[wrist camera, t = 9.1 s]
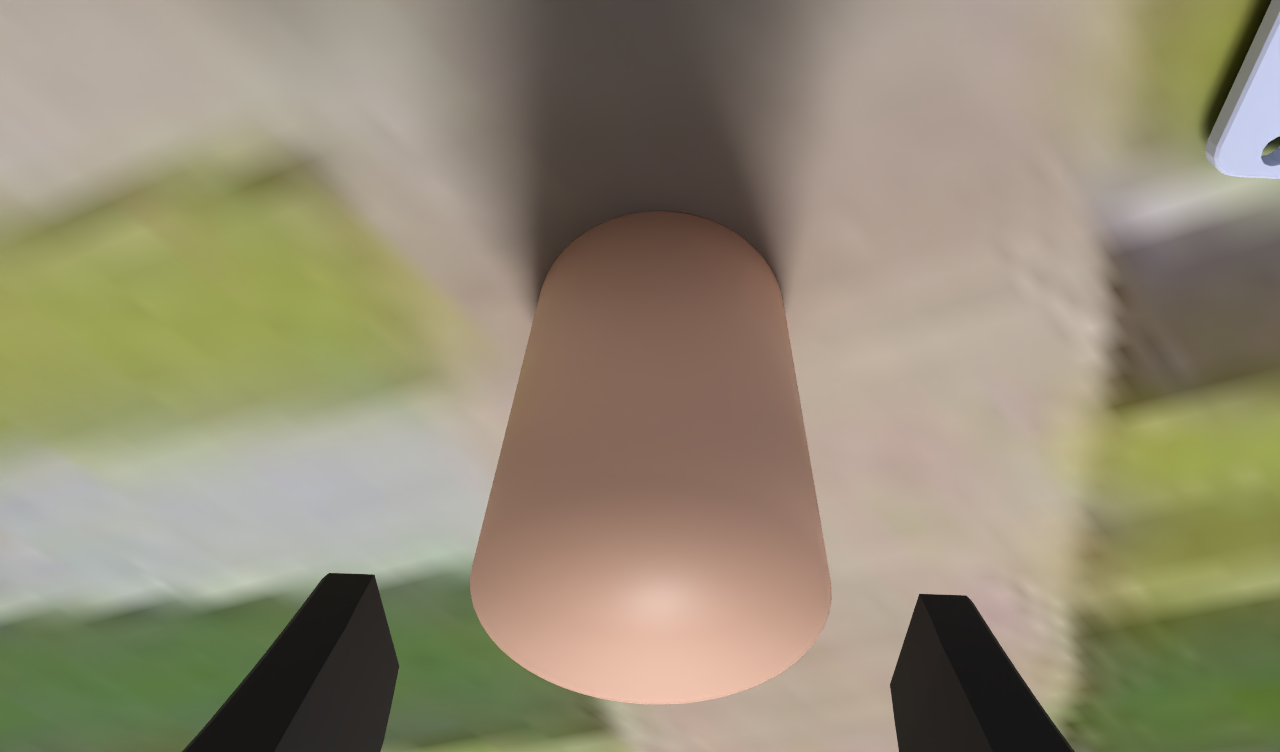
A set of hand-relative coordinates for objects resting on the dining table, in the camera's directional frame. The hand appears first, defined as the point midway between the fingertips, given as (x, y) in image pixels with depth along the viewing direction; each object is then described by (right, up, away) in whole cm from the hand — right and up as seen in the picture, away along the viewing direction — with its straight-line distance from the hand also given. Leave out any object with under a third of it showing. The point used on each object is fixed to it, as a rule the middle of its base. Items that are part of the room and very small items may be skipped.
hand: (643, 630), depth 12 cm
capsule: (0, +5, +6) cm, 7 cm away
